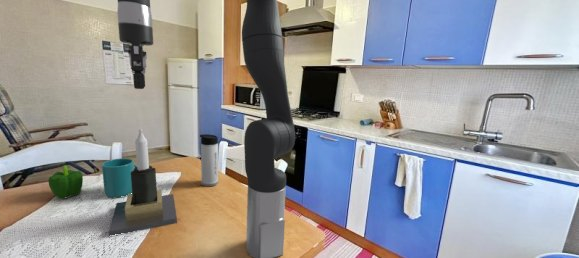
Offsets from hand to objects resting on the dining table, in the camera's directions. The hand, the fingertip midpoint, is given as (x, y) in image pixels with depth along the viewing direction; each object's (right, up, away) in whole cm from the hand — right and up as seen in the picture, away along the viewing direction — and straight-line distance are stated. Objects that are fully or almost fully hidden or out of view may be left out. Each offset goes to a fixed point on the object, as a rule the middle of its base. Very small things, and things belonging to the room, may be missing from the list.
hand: (140, 88), depth 66 cm
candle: (-3, -36, +7) cm, 37 cm away
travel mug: (+9, -33, +31) cm, 46 cm away
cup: (-19, -34, +21) cm, 44 cm away
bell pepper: (-34, -34, +16) cm, 51 cm away
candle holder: (-3, -37, +7) cm, 38 cm away
